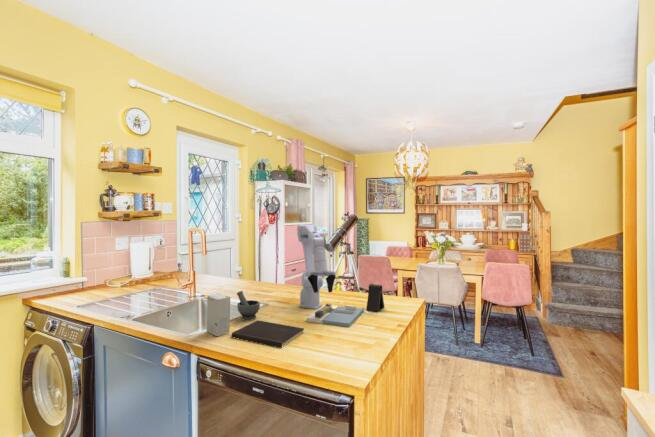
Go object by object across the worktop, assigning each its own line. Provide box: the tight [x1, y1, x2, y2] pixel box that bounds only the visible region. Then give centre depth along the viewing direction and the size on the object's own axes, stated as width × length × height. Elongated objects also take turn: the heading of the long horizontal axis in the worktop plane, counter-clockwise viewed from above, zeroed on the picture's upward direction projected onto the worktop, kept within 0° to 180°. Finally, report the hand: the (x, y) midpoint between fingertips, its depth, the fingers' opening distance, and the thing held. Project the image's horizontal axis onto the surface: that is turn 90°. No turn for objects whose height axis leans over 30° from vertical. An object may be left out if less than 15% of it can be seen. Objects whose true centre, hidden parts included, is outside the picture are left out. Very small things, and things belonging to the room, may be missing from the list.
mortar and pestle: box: [236, 290, 261, 321], centre depth 144 cm, size 11×9×12 cm
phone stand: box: [365, 283, 385, 313], centre depth 157 cm, size 9×6×12 cm, turn 149°
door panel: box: [322, 304, 364, 328], centre depth 144 cm, size 12×22×3 cm, turn 158°
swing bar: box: [315, 303, 333, 318], centre depth 145 cm, size 14×3×2 cm, turn 158°
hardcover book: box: [230, 320, 305, 349], centre depth 124 cm, size 16×23×2 cm
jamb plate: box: [305, 304, 340, 324], centre depth 148 cm, size 7×22×2 cm, turn 158°
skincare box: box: [205, 293, 231, 337], centre depth 127 cm, size 8×6×15 cm
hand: (323, 292), depth 141 cm, fingers open, 7 cm apart
